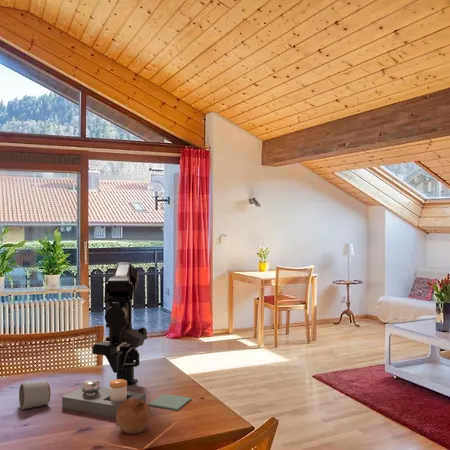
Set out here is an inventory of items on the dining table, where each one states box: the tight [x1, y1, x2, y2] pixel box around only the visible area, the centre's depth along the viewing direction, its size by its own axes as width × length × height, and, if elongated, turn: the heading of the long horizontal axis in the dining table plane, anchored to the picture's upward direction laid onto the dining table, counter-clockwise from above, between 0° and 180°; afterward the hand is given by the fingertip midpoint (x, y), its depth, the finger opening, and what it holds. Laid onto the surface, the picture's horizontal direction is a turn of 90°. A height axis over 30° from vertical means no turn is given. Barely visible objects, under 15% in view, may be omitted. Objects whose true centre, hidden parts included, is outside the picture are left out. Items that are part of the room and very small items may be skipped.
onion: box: [115, 398, 152, 435], centre depth 138 cm, size 10×9×10 cm
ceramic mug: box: [18, 380, 51, 410], centre depth 157 cm, size 11×8×8 cm
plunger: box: [81, 379, 100, 396], centre depth 156 cm, size 5×5×7 cm
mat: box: [147, 393, 192, 412], centre depth 158 cm, size 10×10×1 cm
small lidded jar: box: [109, 378, 128, 403], centre depth 152 cm, size 5×5×8 cm
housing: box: [61, 386, 147, 419], centre depth 154 cm, size 12×22×4 cm, turn 69°
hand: (118, 371), depth 152 cm, fingers open, 3 cm apart
